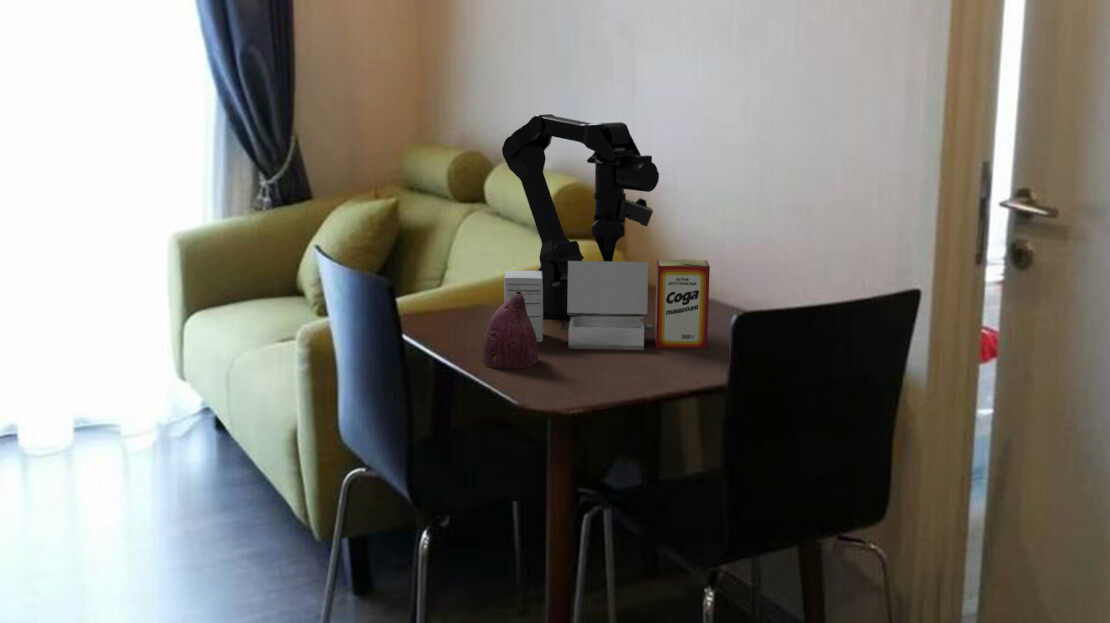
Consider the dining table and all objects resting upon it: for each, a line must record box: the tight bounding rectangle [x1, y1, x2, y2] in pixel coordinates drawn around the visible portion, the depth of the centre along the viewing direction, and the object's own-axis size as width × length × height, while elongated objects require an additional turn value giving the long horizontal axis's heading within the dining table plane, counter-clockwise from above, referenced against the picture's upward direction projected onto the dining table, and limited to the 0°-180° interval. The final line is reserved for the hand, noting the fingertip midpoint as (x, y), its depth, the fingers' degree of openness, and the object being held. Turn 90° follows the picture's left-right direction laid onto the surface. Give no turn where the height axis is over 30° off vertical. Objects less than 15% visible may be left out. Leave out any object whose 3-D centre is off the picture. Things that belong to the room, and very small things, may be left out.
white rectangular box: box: [560, 315, 653, 351], centre depth 228 cm, size 17×10×4 cm, turn 87°
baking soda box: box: [654, 259, 711, 350], centre depth 226 cm, size 10×6×16 cm
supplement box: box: [503, 270, 544, 343], centre depth 231 cm, size 7×7×13 cm
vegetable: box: [481, 290, 539, 370], centre depth 213 cm, size 10×10×15 cm
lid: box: [567, 260, 649, 318], centre depth 233 cm, size 15×10×2 cm
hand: (608, 266), depth 239 cm, fingers closed
